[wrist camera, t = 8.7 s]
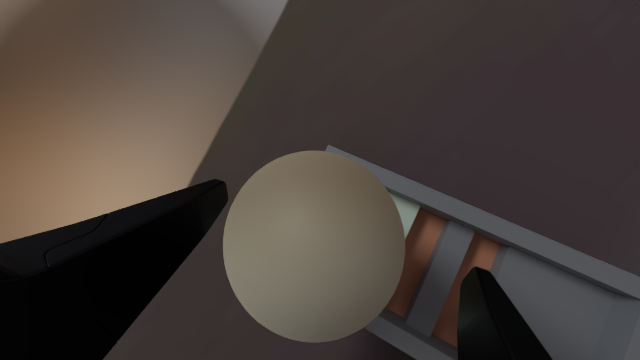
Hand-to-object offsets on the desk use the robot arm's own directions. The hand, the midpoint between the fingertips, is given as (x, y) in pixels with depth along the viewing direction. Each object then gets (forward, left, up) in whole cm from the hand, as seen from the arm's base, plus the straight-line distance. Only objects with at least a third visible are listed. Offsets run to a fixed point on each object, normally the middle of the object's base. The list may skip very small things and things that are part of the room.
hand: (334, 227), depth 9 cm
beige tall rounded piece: (0, 0, -8) cm, 8 cm away
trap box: (0, -6, -10) cm, 12 cm away
